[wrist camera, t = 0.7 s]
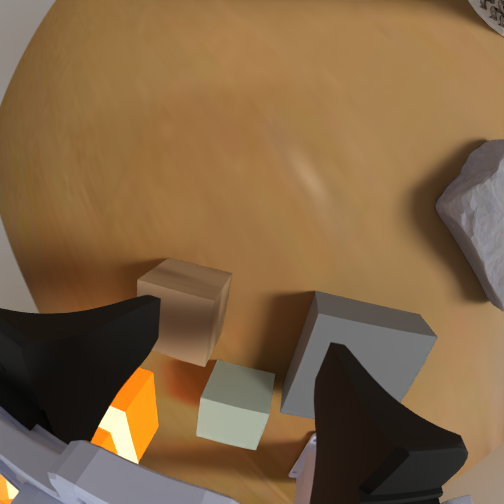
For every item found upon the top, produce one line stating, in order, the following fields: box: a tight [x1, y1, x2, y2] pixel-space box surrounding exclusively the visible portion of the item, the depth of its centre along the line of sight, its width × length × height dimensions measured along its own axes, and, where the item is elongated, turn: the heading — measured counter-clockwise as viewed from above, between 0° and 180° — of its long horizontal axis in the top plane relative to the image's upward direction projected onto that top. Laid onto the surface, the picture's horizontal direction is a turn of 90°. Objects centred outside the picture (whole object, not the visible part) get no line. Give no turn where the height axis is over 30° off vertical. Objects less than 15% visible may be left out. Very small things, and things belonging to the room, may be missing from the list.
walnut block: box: [137, 258, 232, 367], centre depth 20 cm, size 5×5×5 cm
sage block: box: [196, 360, 275, 450], centre depth 21 cm, size 5×5×5 cm
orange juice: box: [0, 368, 158, 504], centre depth 17 cm, size 8×9×20 cm
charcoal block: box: [280, 291, 437, 419], centre depth 20 cm, size 9×9×4 cm
